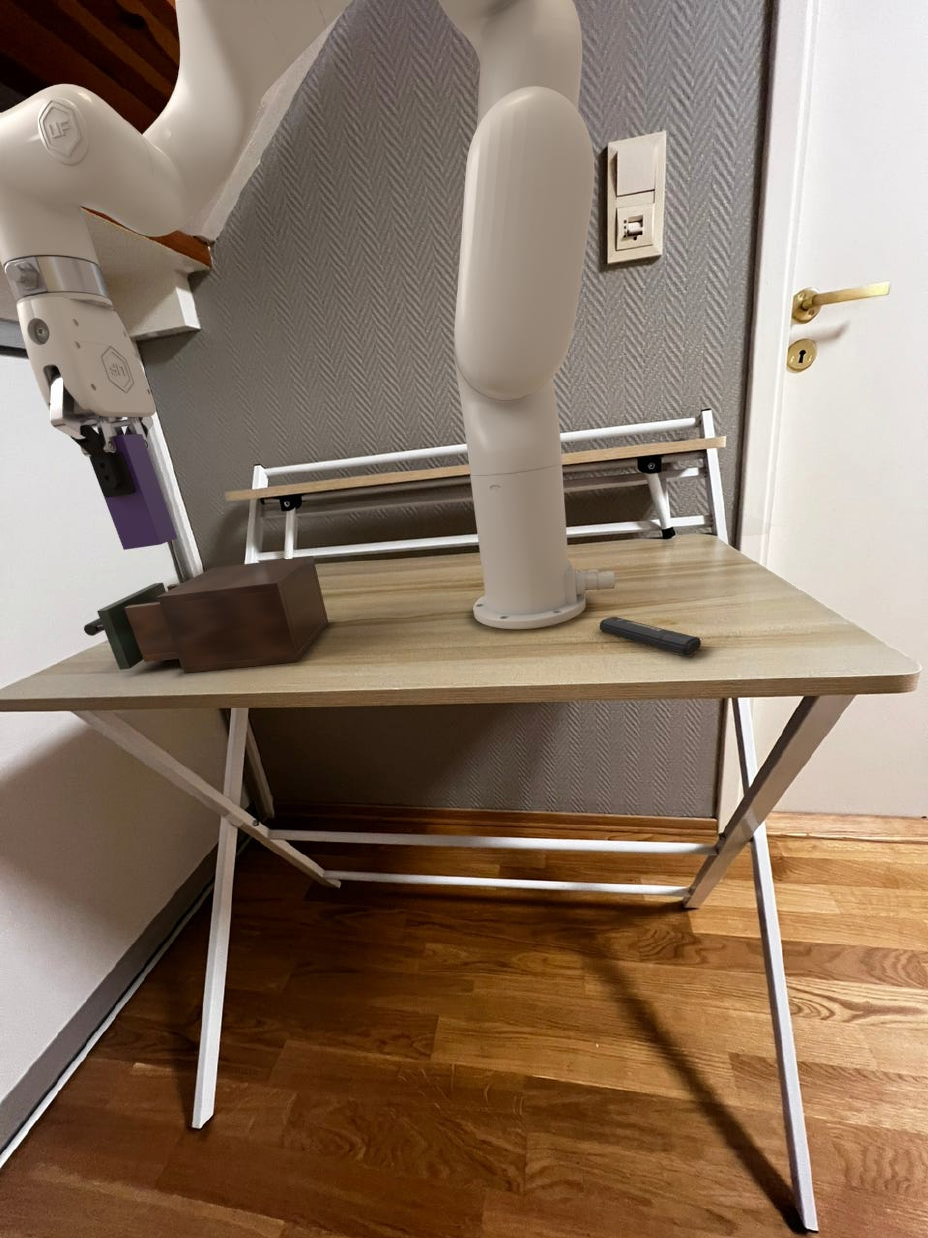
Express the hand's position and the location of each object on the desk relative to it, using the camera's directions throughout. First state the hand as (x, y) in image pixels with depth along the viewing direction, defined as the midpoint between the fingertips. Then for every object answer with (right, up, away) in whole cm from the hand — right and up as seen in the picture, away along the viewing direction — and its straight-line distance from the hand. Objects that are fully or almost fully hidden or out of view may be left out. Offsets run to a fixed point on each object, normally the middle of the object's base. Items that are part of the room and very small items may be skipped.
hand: (132, 490), depth 56 cm
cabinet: (+11, -17, +5) cm, 21 cm away
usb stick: (+51, -16, -7) cm, 54 cm away
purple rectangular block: (+1, -5, +2) cm, 6 cm away
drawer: (+2, -17, +6) cm, 18 cm away
